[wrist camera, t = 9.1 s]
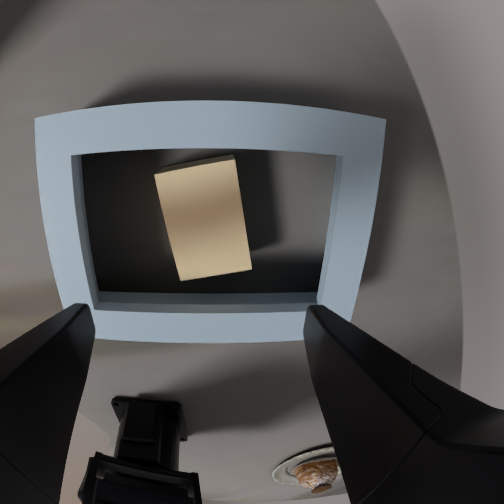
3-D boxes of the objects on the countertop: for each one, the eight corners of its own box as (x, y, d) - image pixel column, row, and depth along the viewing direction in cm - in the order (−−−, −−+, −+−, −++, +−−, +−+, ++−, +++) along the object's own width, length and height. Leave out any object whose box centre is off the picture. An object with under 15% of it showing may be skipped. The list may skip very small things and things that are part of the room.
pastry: (284, 443, 30) (291, 476, 25) (373, 433, 32) (384, 461, 27) (262, 481, 34) (266, 507, 30) (338, 473, 36) (345, 496, 32)
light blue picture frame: (324, 297, 21) (345, 336, 17) (93, 297, 19) (72, 336, 15) (349, 117, 16) (386, 119, 12) (73, 115, 14) (35, 118, 10)
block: (248, 250, 19) (252, 269, 17) (184, 261, 19) (180, 280, 17) (233, 153, 17) (235, 159, 14) (163, 166, 16) (154, 174, 14)
